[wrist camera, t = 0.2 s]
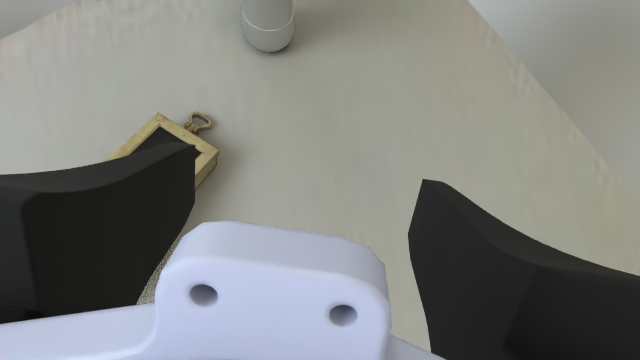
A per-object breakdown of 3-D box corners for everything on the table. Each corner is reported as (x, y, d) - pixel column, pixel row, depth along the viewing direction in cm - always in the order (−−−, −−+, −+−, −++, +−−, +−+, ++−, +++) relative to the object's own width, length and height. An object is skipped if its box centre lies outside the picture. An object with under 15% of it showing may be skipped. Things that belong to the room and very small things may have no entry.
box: (22, 274, 39) (-2, 257, 35) (179, 115, 51) (175, 87, 46) (95, 322, 39) (79, 310, 34) (238, 150, 50) (239, 125, 46)
